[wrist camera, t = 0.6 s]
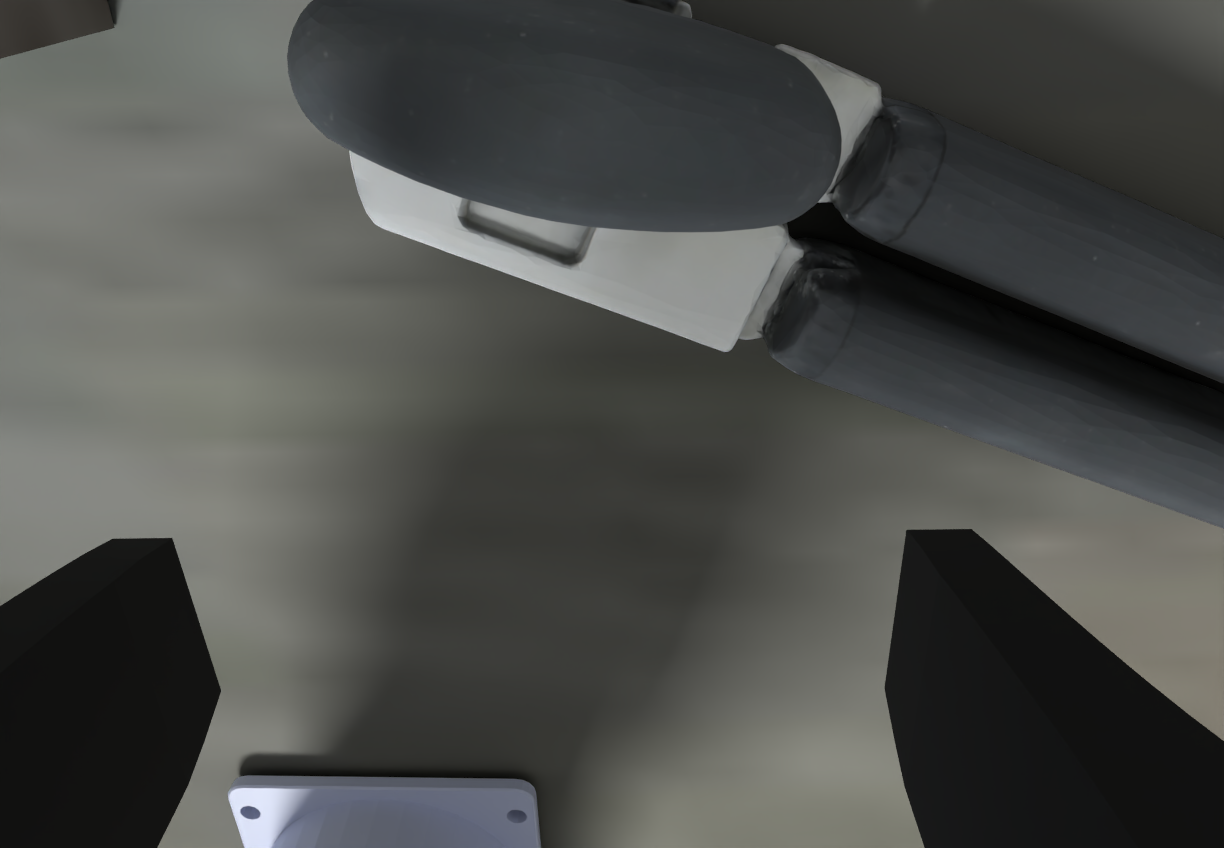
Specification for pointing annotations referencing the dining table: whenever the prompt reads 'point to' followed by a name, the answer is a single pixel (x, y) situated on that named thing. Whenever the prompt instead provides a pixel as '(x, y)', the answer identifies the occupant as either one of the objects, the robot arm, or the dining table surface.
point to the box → (49, 22)
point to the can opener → (782, 220)
